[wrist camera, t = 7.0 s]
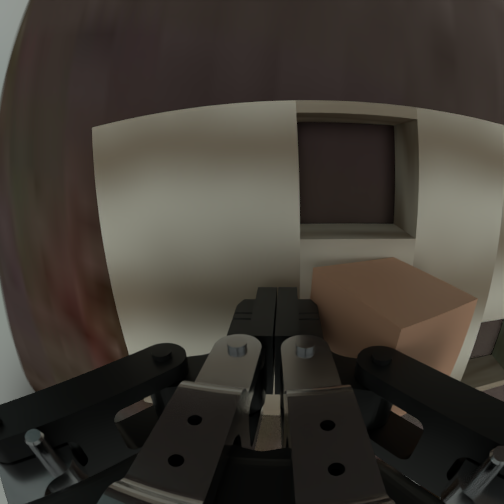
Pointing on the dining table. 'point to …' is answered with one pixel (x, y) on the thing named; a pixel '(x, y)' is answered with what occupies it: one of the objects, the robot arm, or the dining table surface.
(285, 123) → the checkered shape sorter board
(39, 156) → the dining table surface
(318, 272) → the block
